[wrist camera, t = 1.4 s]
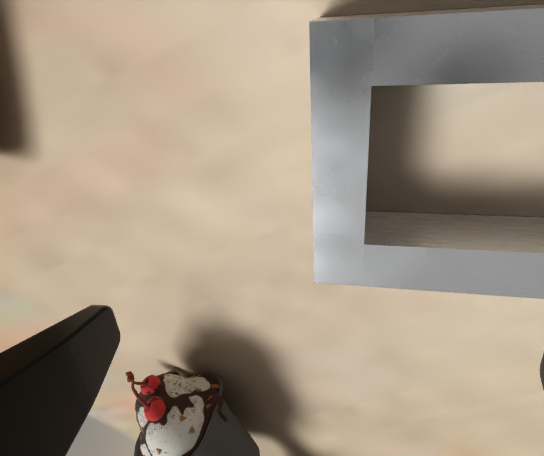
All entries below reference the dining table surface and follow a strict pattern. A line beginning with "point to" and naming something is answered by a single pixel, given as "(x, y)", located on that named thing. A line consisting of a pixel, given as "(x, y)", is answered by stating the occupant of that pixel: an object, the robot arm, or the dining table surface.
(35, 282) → the dining table surface
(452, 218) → the steel link
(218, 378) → the sundae
